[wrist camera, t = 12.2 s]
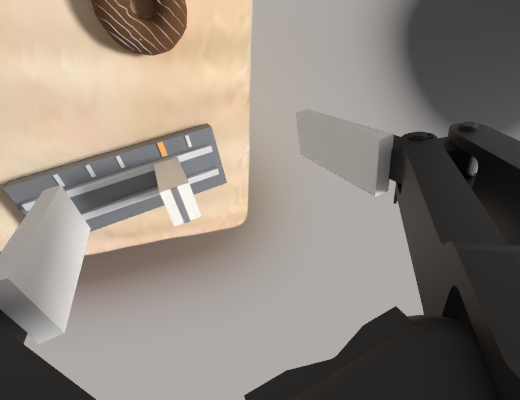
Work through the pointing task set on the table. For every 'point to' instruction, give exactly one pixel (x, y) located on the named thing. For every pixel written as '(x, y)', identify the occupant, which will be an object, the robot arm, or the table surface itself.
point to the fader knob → (176, 191)
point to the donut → (143, 25)
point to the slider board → (125, 177)
